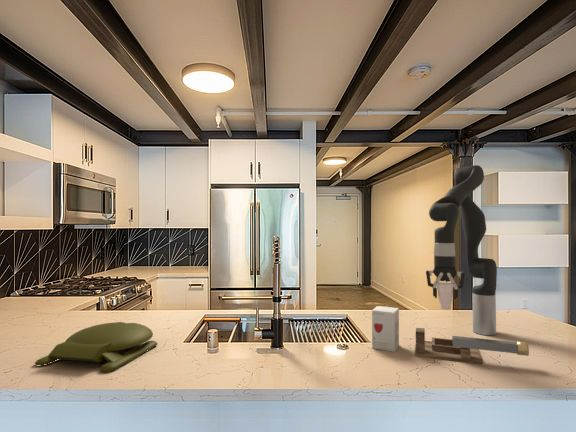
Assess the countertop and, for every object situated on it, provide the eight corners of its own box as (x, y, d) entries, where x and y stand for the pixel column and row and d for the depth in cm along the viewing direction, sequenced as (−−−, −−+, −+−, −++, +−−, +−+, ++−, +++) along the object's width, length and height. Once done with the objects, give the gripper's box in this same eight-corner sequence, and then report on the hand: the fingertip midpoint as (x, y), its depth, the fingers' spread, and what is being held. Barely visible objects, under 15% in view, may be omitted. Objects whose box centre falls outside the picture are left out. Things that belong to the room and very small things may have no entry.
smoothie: (456, 310, 134) (455, 273, 134) (438, 310, 135) (437, 272, 136) (452, 307, 140) (451, 271, 141) (435, 306, 141) (434, 270, 142)
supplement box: (371, 348, 140) (371, 309, 140) (377, 342, 147) (376, 305, 148) (395, 352, 135) (394, 312, 136) (399, 345, 143) (399, 307, 144)
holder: (416, 342, 147) (415, 320, 147) (476, 348, 139) (475, 325, 139) (414, 355, 131) (414, 331, 132) (482, 364, 123) (481, 338, 123)
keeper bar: (452, 345, 131) (452, 333, 132) (525, 353, 123) (525, 340, 123) (453, 349, 127) (452, 336, 128) (529, 357, 119) (528, 344, 119)
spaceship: (110, 375, 116) (110, 344, 116) (30, 367, 122) (31, 338, 122) (167, 341, 150) (167, 317, 150) (103, 337, 156) (103, 314, 156)
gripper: (464, 254, 139) (465, 297, 139) (424, 253, 144) (425, 295, 144) (466, 255, 132) (467, 301, 132) (424, 254, 137) (425, 298, 137)
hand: (445, 298), depth 138 cm, fingers closed on smoothie, 6 cm apart
